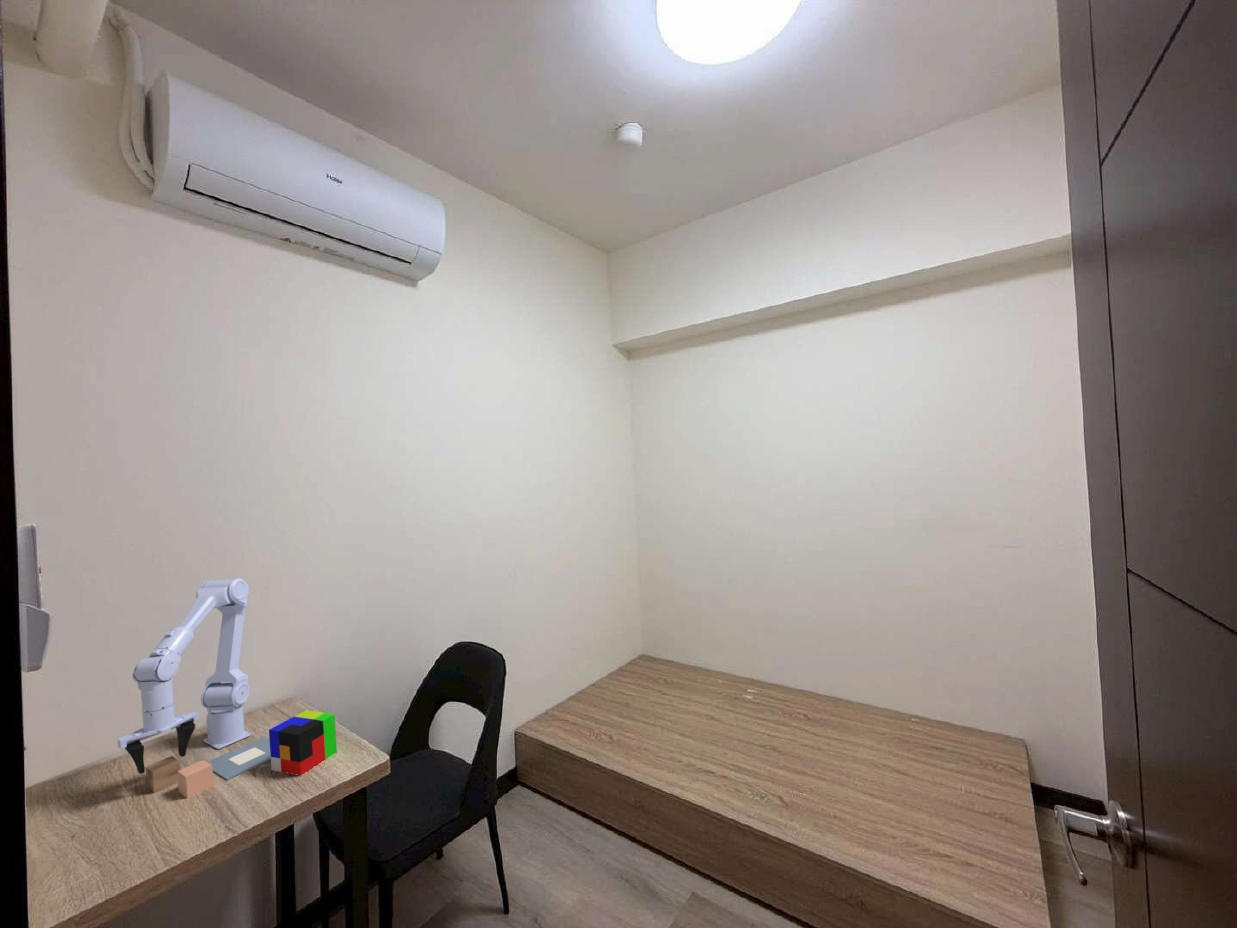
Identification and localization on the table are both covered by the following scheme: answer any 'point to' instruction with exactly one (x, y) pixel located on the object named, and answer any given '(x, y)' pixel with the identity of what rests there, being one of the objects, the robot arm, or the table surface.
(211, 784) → the terracotta block
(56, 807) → the table surface
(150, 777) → the walnut block
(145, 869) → the table surface
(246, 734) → the robot arm
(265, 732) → the table surface
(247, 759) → the plate
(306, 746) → the puzzle toy
